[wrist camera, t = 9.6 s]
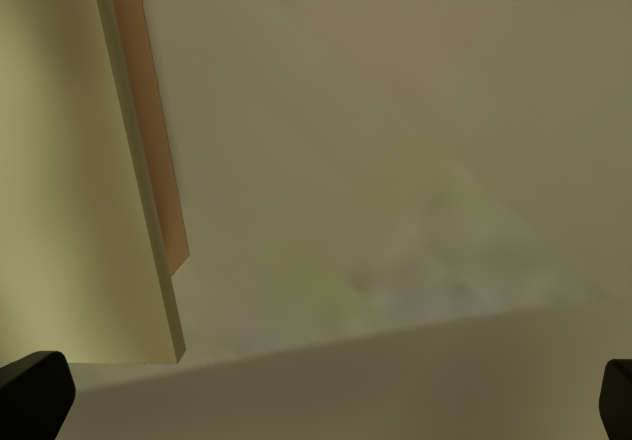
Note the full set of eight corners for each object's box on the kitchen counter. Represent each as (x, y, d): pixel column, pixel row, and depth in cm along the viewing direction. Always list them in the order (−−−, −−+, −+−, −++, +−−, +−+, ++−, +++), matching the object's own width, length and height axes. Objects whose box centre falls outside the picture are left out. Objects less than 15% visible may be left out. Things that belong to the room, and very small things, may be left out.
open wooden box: (139, -14, 17) (51, -32, 12) (189, 255, 21) (137, 317, 16) (-119, 12, 18) (-283, 3, 14) (-26, 258, 22) (-129, 315, 18)
